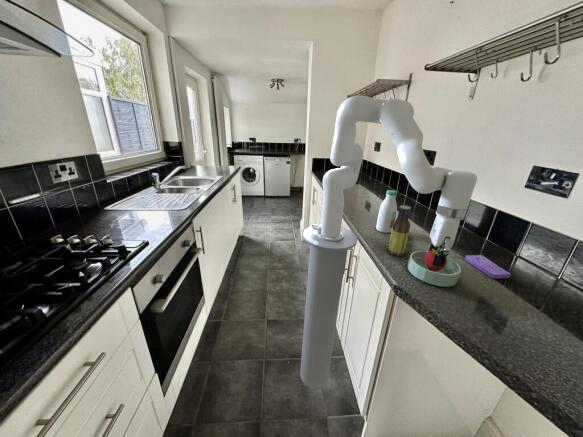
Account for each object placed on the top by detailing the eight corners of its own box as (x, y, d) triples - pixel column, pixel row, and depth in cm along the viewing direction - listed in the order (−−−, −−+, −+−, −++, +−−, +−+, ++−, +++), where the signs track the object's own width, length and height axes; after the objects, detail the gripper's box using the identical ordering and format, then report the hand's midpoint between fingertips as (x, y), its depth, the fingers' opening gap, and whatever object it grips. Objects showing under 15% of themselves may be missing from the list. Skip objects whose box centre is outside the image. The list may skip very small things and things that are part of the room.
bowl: (409, 280, 77) (412, 268, 75) (405, 258, 90) (408, 247, 88) (462, 293, 72) (467, 280, 70) (450, 267, 85) (454, 256, 83)
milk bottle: (383, 234, 110) (392, 193, 103) (372, 228, 117) (379, 189, 109) (395, 232, 113) (404, 192, 106) (384, 226, 120) (391, 188, 112)
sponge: (480, 259, 92) (481, 254, 91) (510, 278, 80) (512, 273, 80) (463, 259, 91) (465, 255, 91) (491, 278, 80) (493, 274, 79)
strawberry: (432, 266, 85) (440, 242, 81) (446, 279, 78) (455, 253, 74) (417, 266, 84) (424, 242, 80) (429, 279, 77) (438, 253, 73)
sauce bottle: (398, 248, 97) (408, 204, 90) (407, 256, 92) (419, 209, 84) (383, 249, 96) (393, 204, 89) (392, 257, 91) (403, 209, 83)
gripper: (432, 202, 81) (420, 246, 88) (442, 218, 66) (426, 270, 73) (457, 205, 79) (442, 250, 85) (473, 223, 64) (454, 276, 70)
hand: (435, 259), depth 79 cm, fingers closed on strawberry, 7 cm apart
